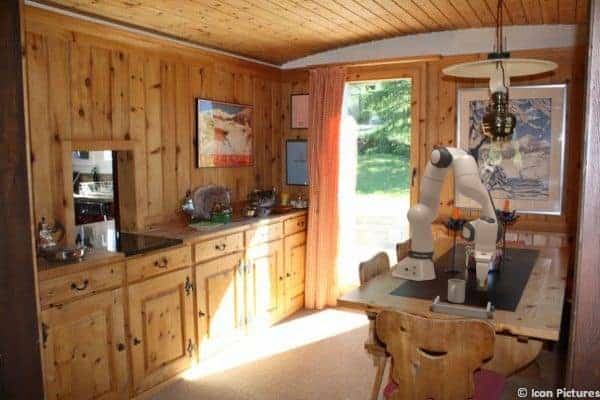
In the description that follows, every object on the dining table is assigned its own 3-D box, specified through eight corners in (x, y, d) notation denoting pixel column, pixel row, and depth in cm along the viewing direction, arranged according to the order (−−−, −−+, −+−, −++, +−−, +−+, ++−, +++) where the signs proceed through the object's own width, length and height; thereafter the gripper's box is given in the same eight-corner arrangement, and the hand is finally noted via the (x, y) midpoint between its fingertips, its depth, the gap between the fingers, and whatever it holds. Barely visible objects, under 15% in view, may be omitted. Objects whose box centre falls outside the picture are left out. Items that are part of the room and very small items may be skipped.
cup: (466, 300, 224) (467, 280, 223) (459, 305, 216) (460, 285, 215) (450, 297, 228) (451, 278, 227) (443, 302, 220) (443, 283, 219)
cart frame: (429, 311, 209) (429, 304, 208) (433, 302, 221) (434, 295, 220) (492, 319, 199) (492, 312, 199) (493, 309, 211) (494, 302, 210)
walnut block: (476, 289, 220) (477, 278, 220) (477, 287, 224) (478, 276, 223) (486, 291, 219) (487, 280, 218) (487, 288, 222) (488, 277, 222)
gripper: (479, 248, 230) (477, 277, 232) (474, 257, 211) (472, 289, 213) (494, 250, 227) (491, 279, 229) (490, 259, 209) (488, 291, 211)
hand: (482, 284), depth 221 cm, fingers closed on walnut block, 4 cm apart
